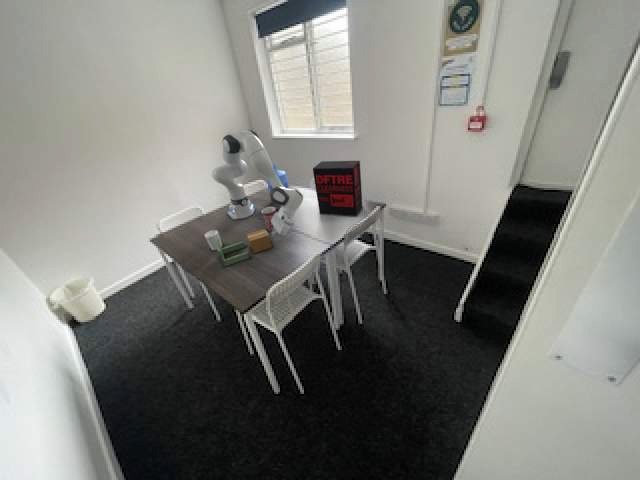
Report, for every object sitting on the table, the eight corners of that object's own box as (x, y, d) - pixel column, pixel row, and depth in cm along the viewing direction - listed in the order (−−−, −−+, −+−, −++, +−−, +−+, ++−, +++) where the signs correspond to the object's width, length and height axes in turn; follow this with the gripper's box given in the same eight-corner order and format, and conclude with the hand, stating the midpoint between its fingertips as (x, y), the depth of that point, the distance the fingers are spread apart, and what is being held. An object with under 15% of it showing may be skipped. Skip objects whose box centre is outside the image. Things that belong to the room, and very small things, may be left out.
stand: (245, 246, 158) (240, 231, 152) (249, 257, 146) (244, 243, 141) (221, 254, 154) (215, 239, 148) (224, 266, 142) (217, 251, 137)
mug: (274, 232, 167) (269, 214, 159) (263, 230, 171) (258, 212, 164) (286, 223, 175) (281, 205, 168) (275, 221, 180) (271, 203, 173)
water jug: (271, 197, 218) (263, 164, 203) (289, 193, 220) (282, 160, 205) (273, 204, 205) (264, 169, 190) (292, 200, 207) (285, 165, 192)
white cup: (212, 244, 164) (206, 231, 159) (224, 242, 164) (219, 229, 159) (209, 251, 158) (202, 238, 152) (221, 249, 158) (216, 235, 152)
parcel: (268, 240, 159) (264, 228, 155) (272, 247, 152) (268, 234, 148) (250, 246, 156) (246, 234, 152) (253, 253, 149) (249, 241, 145)
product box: (319, 213, 180) (312, 168, 164) (327, 204, 191) (321, 161, 174) (356, 216, 170) (353, 168, 153) (362, 206, 181) (359, 160, 164)
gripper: (275, 207, 158) (264, 226, 161) (285, 220, 142) (272, 240, 144) (284, 211, 162) (272, 230, 164) (294, 224, 145) (282, 244, 148)
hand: (272, 235), depth 154 cm, fingers closed
